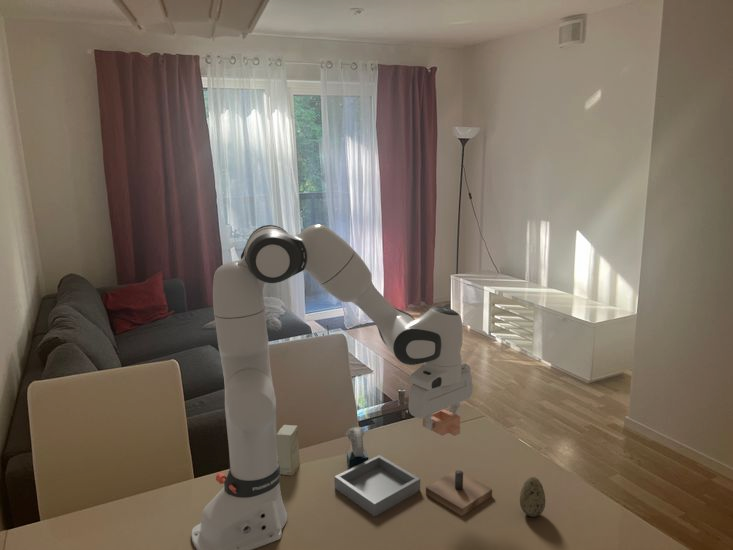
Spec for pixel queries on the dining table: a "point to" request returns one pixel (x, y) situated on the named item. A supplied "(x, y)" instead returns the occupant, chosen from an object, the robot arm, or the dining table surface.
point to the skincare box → (288, 449)
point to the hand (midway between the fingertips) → (441, 423)
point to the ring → (445, 422)
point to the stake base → (459, 492)
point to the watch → (356, 447)
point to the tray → (377, 484)
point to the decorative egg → (532, 497)
